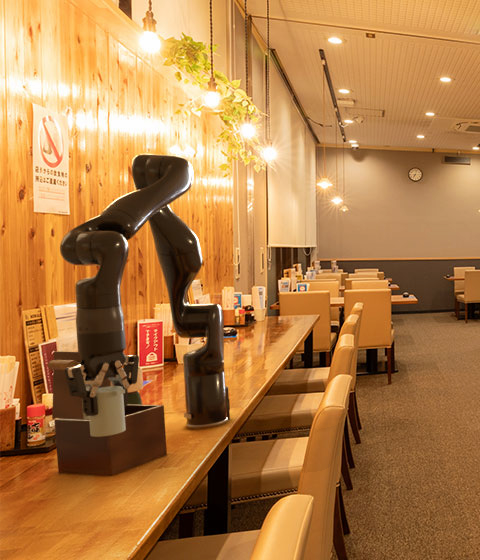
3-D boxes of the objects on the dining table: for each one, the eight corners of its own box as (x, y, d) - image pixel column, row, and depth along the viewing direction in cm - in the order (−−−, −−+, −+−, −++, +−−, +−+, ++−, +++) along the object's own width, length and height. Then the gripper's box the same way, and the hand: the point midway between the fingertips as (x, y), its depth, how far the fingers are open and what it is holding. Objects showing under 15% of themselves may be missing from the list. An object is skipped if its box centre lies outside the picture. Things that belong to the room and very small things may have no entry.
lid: (57, 351, 140) (30, 353, 135) (111, 352, 138) (86, 354, 133) (56, 417, 140) (29, 422, 135) (110, 419, 138) (85, 424, 133)
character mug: (118, 410, 192) (115, 367, 191) (147, 407, 196) (145, 365, 195) (110, 419, 183) (107, 374, 182) (141, 415, 186) (138, 371, 185)
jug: (71, 435, 130) (68, 391, 129) (98, 427, 135) (95, 385, 135) (110, 437, 128) (107, 393, 128) (136, 428, 134) (133, 386, 133)
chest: (117, 452, 154) (113, 403, 153) (166, 454, 152) (163, 405, 151) (58, 472, 140) (54, 419, 140) (112, 475, 138) (108, 421, 138)
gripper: (81, 335, 123) (87, 422, 124) (149, 324, 137) (154, 402, 138) (47, 334, 124) (54, 420, 125) (118, 324, 138) (123, 401, 139)
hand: (106, 410), depth 131 cm, fingers closed on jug, 5 cm apart
